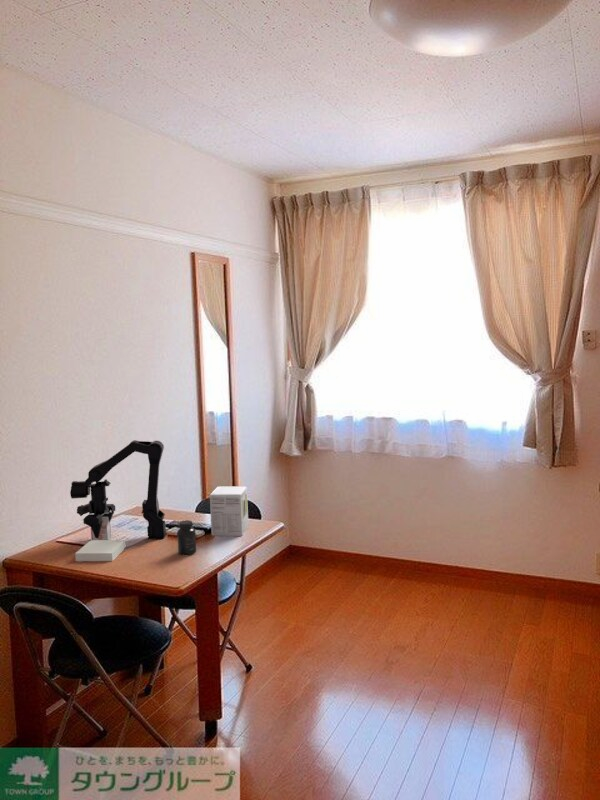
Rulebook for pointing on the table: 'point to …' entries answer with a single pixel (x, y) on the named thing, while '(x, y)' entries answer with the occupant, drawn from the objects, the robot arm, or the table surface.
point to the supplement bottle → (186, 538)
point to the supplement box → (229, 511)
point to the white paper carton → (103, 530)
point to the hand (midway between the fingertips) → (101, 534)
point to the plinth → (100, 550)
